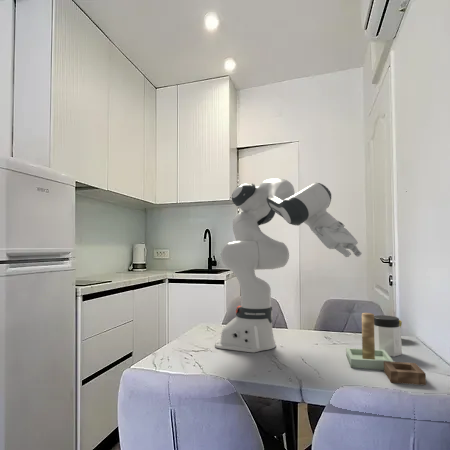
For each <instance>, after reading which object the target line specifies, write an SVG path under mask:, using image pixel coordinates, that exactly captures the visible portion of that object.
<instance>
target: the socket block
mask: <svg viewBox="0 0 450 450" xmlns="http://www.w3.org/2000/svg"><path fill="white" fill-rule="evenodd" d="M383 373H384V374H385V375H386V378H388V380H389V381H390V383H391V384H406V385H417V386H427V381H426V380H427V379H426V378H427V377H426V375H427V374H426V372H425V371H424V370H423V369H422V368H421V367H420V366H419V365H418V364H417V363H415V362H406V361H405V362H401V361H394V362H389V361H384V370H383Z"/></svg>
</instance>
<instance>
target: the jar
mask: <svg viewBox="0 0 450 450" xmlns="http://www.w3.org/2000/svg"><path fill="white" fill-rule="evenodd" d="M399 320H400V318H399V317H397V316H393V315H383V314H380V315H374V339H375V350H385V351H386V352H387V354H388V355H389V356H390V357H391V358H392V357H393V358H395V357H398V356H401V355H402V354H403V350H402V349H403V348H402V325H401V326H399Z"/></svg>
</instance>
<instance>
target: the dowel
mask: <svg viewBox="0 0 450 450" xmlns="http://www.w3.org/2000/svg"><path fill="white" fill-rule="evenodd" d="M374 316H375V314H374V313H371V312H362V313H361V341H362V343H361V347H362V348H361V349H362V359H375V339H374Z"/></svg>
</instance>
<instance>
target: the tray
mask: <svg viewBox="0 0 450 450" xmlns="http://www.w3.org/2000/svg"><path fill="white" fill-rule="evenodd" d="M345 352H346V353H345V354H346V358H347V361H348V363H349V366H350V368H353V369H369V370H382V371H384V361H389V362H395V361H394V360H393V358H392V357H391V356H389V355H388V354H387V352H386V351H385V350H375V359H362V348H356V347H355V348H352V347H345Z"/></svg>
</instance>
